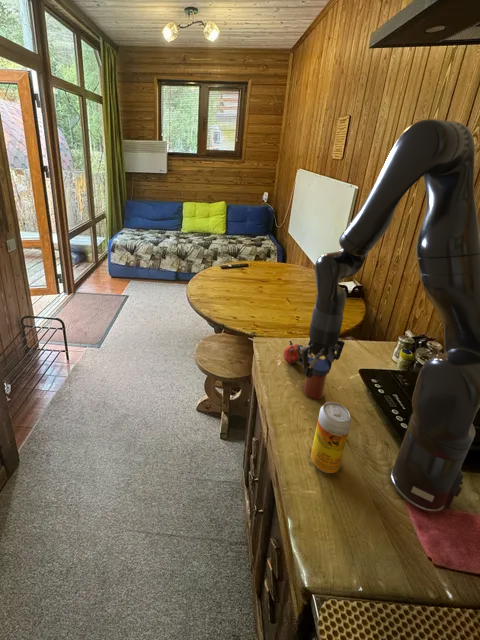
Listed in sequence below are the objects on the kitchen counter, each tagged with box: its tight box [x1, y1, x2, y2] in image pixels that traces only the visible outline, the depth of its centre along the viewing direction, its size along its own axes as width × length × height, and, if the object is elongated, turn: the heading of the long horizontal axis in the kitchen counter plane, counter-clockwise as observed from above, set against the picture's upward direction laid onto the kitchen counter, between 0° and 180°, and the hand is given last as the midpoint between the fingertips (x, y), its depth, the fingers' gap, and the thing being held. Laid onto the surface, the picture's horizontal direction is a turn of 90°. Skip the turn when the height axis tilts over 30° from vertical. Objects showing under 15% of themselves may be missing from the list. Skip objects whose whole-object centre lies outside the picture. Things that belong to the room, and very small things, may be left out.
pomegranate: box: [283, 340, 301, 372], centre depth 101 cm, size 7×7×10 cm
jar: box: [303, 374, 328, 400], centre depth 88 cm, size 5×5×10 cm
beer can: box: [310, 401, 352, 474], centre depth 67 cm, size 6×6×15 cm
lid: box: [309, 357, 330, 376], centre depth 87 cm, size 6×6×2 cm
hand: (316, 373), depth 88 cm, fingers closed on lid, 5 cm apart
